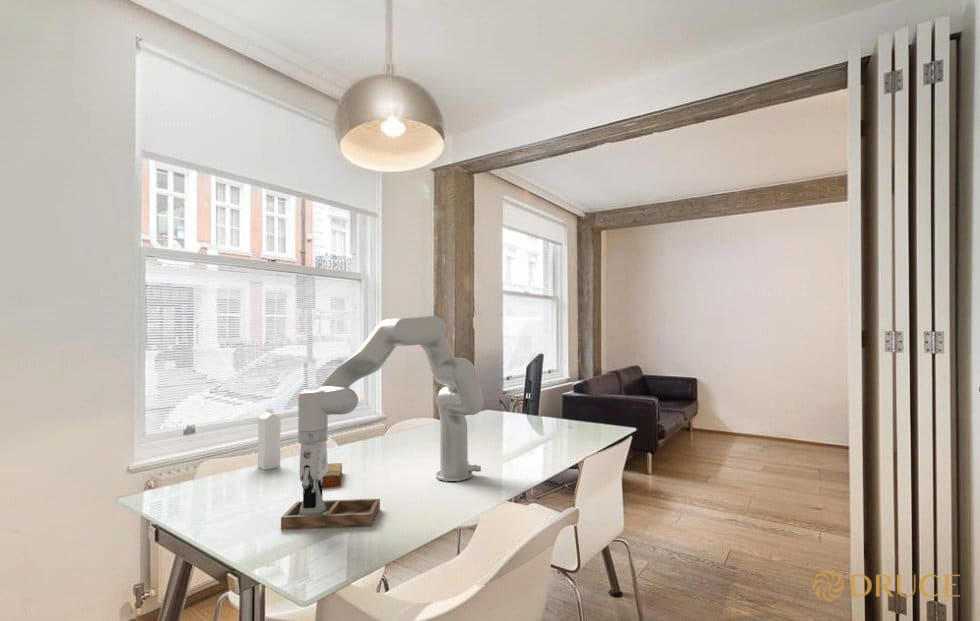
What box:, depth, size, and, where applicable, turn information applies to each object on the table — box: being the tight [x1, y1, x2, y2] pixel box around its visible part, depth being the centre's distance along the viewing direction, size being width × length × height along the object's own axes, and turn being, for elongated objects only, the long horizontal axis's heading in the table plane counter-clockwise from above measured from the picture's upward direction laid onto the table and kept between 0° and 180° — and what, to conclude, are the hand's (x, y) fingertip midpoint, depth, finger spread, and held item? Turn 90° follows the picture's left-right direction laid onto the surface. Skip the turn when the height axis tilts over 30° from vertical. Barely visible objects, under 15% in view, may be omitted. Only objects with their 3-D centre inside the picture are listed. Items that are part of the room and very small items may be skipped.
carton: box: [322, 462, 343, 489], centre depth 165 cm, size 8×16×4 cm, turn 15°
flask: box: [299, 478, 326, 515], centre depth 130 cm, size 7×7×10 cm
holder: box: [280, 498, 381, 530], centre depth 129 cm, size 23×12×3 cm, turn 93°
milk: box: [257, 408, 282, 471], centre depth 184 cm, size 6×6×22 cm
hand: (313, 503), depth 129 cm, fingers closed on flask, 4 cm apart
